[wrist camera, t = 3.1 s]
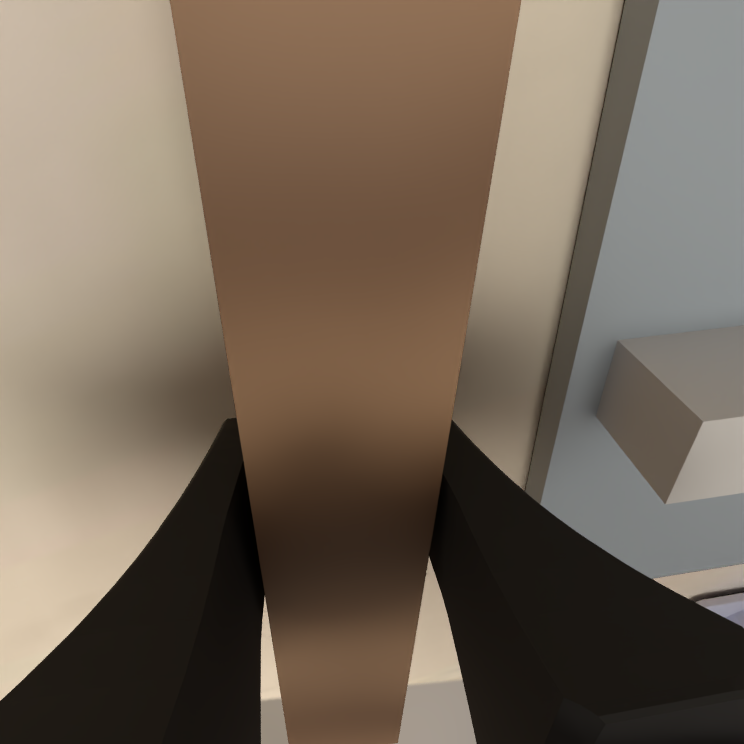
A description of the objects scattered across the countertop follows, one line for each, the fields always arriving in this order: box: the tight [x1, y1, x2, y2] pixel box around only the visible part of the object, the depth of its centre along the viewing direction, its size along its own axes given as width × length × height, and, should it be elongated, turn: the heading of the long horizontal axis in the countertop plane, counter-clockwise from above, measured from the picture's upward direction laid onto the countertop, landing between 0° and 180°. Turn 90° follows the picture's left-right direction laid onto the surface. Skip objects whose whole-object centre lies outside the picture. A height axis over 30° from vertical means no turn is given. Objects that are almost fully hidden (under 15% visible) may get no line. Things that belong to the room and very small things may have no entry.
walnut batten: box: [170, 0, 521, 744], centre depth 11 cm, size 18×3×5 cm, turn 178°
